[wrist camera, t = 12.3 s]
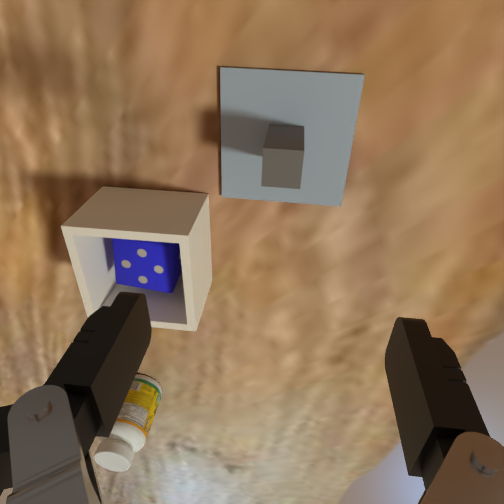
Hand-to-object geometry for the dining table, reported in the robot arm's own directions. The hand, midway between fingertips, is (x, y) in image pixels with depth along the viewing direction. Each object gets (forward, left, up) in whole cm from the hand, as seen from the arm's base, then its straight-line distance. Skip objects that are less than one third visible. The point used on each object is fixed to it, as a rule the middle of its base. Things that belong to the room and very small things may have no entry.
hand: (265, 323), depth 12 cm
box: (+10, -11, -20) cm, 25 cm away
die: (+10, -11, -21) cm, 26 cm away
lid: (0, 0, -21) cm, 21 cm away
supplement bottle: (+33, -16, -21) cm, 42 cm away
